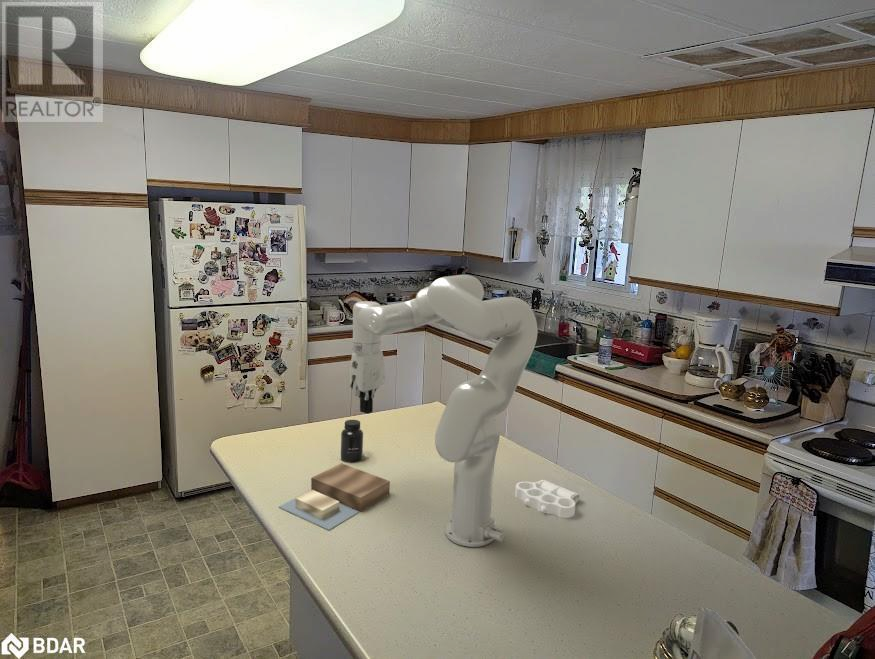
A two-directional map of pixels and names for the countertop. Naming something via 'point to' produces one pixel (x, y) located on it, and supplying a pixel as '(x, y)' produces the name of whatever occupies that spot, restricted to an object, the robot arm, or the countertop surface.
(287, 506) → the slate mat
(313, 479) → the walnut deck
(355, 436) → the supplement bottle
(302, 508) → the maple tile
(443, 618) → the countertop surface
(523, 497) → the knuckle duster
